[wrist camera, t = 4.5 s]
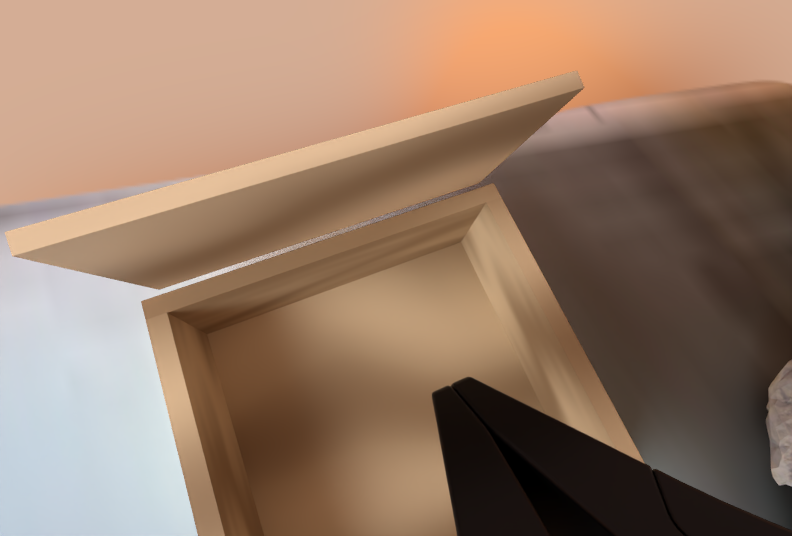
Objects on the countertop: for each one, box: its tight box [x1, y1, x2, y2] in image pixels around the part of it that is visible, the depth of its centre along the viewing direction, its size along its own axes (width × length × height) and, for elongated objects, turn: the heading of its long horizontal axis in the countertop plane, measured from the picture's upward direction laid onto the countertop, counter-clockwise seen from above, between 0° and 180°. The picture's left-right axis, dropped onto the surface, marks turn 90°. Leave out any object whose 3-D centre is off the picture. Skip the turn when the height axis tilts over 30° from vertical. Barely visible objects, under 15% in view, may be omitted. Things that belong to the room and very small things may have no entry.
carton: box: [141, 183, 644, 536], centre depth 14 cm, size 12×12×4 cm
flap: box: [5, 71, 584, 289], centre depth 11 cm, size 6×11×1 cm
